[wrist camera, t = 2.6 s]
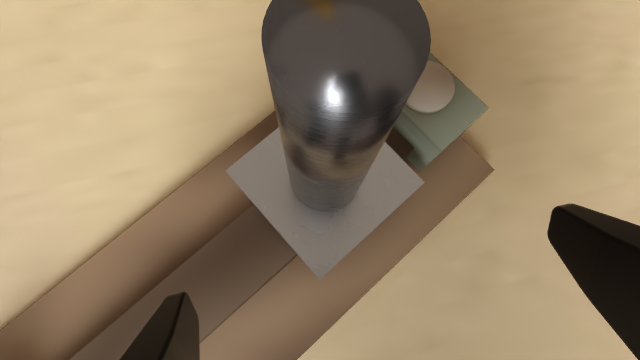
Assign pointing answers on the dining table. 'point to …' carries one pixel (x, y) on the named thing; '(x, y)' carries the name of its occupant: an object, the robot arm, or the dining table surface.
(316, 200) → the carriage
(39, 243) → the dining table surface
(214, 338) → the board
